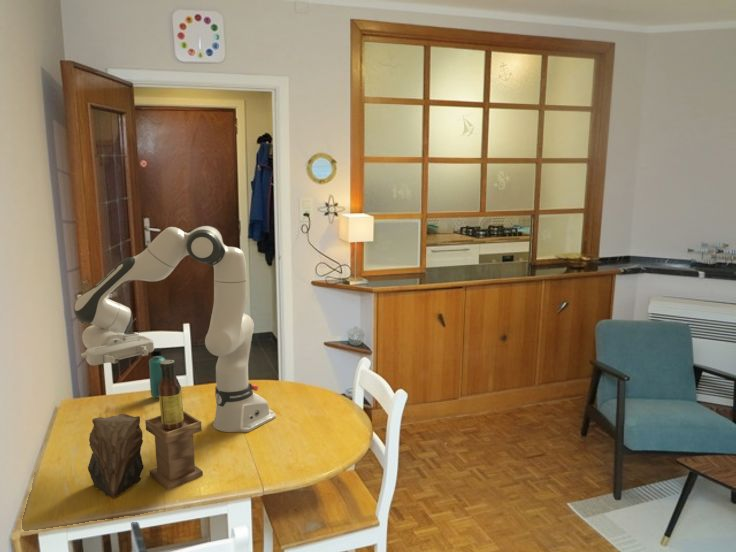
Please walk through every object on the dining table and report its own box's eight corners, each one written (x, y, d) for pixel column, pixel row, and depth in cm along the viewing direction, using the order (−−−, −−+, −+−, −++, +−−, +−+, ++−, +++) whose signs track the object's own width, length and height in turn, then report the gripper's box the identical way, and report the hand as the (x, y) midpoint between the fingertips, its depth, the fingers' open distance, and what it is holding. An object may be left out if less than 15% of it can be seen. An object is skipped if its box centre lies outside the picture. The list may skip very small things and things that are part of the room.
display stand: (183, 461, 186) (180, 409, 182) (203, 476, 178) (201, 421, 174) (148, 474, 178) (145, 420, 175) (168, 490, 170) (165, 433, 166)
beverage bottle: (162, 401, 230) (159, 352, 227) (147, 400, 232) (144, 351, 228) (171, 395, 237) (168, 347, 233) (156, 393, 238) (153, 346, 234)
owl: (87, 484, 172) (81, 420, 168) (126, 466, 182) (122, 405, 178) (112, 499, 165) (106, 432, 161) (151, 480, 175) (147, 416, 171)
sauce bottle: (188, 424, 175) (185, 360, 171) (171, 432, 170) (167, 367, 166) (173, 419, 179) (169, 356, 175) (156, 427, 174) (152, 362, 170)
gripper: (77, 344, 183) (95, 354, 174) (141, 331, 197) (161, 340, 188) (79, 363, 184) (97, 375, 175) (142, 349, 199) (162, 359, 189)
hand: (131, 356), depth 182 cm, fingers open, 8 cm apart
